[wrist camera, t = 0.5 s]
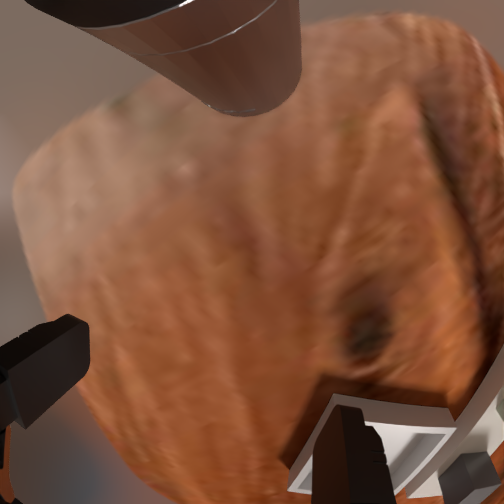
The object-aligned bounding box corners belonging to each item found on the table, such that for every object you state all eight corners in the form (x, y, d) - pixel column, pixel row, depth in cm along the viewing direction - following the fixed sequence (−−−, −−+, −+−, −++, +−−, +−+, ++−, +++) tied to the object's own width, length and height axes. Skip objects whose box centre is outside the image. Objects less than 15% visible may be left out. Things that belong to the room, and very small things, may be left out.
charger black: (455, 440, 26) (474, 489, 18) (481, 439, 26) (501, 483, 17) (434, 465, 28) (447, 513, 19) (460, 463, 27) (475, 507, 19)
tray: (333, 393, 28) (335, 416, 24) (448, 407, 26) (457, 427, 23) (289, 470, 32) (287, 490, 28) (389, 479, 30) (391, 498, 27)
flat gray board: (515, 319, 23) (534, 336, 19) (551, 329, 22) (568, 344, 18) (403, 481, 30) (407, 501, 26) (447, 478, 29) (452, 496, 25)
